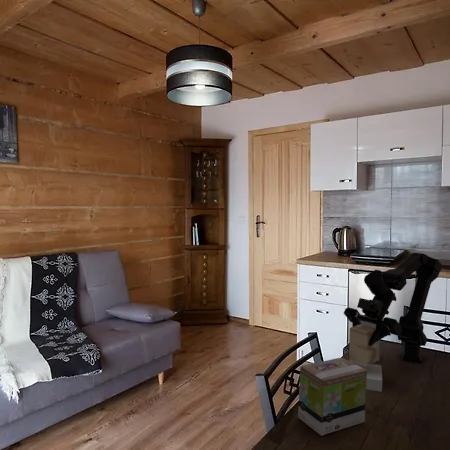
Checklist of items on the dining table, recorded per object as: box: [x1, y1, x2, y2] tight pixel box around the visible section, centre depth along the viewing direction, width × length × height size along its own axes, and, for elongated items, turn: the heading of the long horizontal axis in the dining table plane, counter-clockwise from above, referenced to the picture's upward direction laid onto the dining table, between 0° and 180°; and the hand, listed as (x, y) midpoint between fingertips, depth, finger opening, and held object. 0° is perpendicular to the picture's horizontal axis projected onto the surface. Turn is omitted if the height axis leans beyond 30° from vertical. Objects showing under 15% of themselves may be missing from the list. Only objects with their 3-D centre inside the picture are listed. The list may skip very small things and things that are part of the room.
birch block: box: [348, 324, 377, 367], centre depth 130 cm, size 6×6×11 cm
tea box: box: [297, 356, 367, 437], centre depth 107 cm, size 15×10×15 cm
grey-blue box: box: [350, 361, 383, 393], centre depth 131 cm, size 12×12×4 cm
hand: (360, 342), depth 129 cm, fingers closed on birch block, 6 cm apart
